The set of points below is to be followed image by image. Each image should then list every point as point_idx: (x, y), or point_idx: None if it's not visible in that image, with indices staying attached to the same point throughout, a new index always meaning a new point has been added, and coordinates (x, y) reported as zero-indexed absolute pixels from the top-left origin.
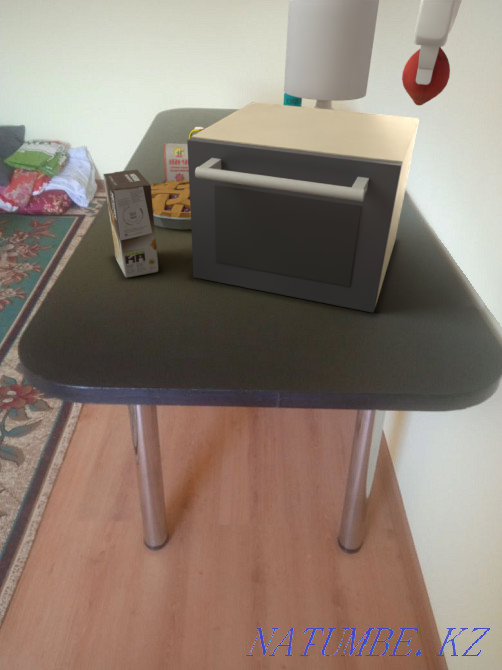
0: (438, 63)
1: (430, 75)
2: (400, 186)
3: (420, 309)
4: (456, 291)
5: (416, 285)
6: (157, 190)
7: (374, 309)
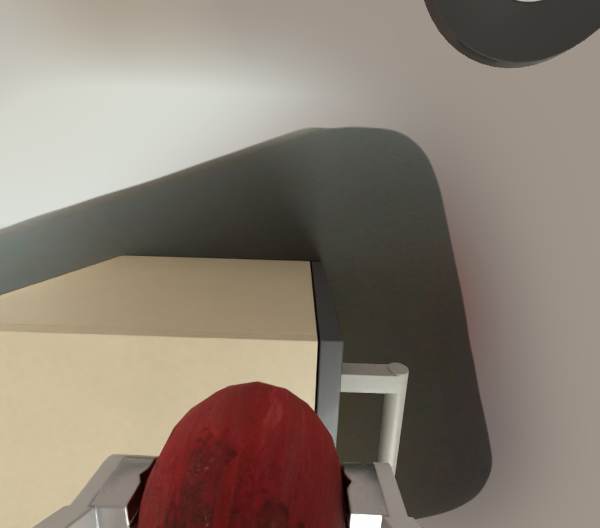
0: (322, 517)
1: (397, 492)
2: (238, 306)
3: (294, 212)
4: (234, 170)
5: (238, 219)
6: None
7: (318, 262)
